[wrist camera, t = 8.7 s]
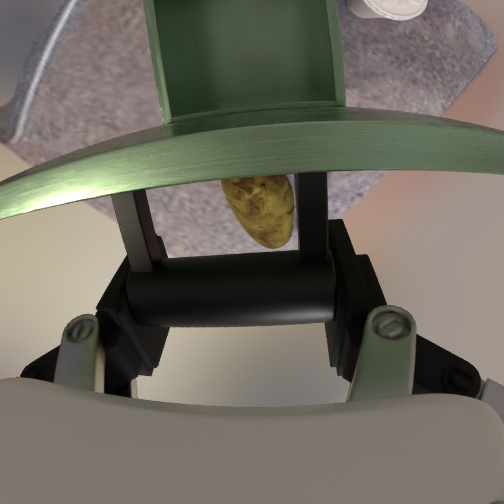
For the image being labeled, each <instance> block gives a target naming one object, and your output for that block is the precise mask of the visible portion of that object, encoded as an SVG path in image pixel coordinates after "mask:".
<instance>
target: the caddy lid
mask: <svg viewBox="0 0 504 504" xmlns="http://www.w3.org/2000/svg"><path fill="white" fill-rule="evenodd" d="M364 170H423V171H424V170H425V171H455V172H474V173H489V174H503V175H504V131H501V130H498V129H494V128H490V127H486V126H481V125H477V124H473V123H468V122H463V121H458V120H453V119H448V118H442V117H436V116H430V115H424V114H417V113H409V112H401V111H393V110H383V109H372V108H358V107H310V108H290V109H276V110H264V111H253V112H244V113H235V114H227V115H220V116H213V117H206V118H200V119H194V120H188V121H182V122H177V123H172V124H166V125H162V126H157V127H153V128H149V129H145V130H142V131H138V132H134V133H130V134H127V135H123V136H120V137H116V138H113V139H110V140H107V141H103V142H100V143H97V144H94V145H91V146H88V147H85V148H82V149H79V150H76V151H73V152H71V153H68V154H65V155H62V156H60V157H57V158H54V159H52V160H49V161H47V162H44V163H42V164H39V165H37V166H34V167H32V168H30V169H28V170H25V171H23V172H21V173H18V174H16V175H14V176H12V177H9V178H7V179H5V180H3V181H1V182H0V220H1V219H5V218H8V217H12V216H16V215H20V214H24V213H28V212H33V211H37V210H41V209H46V208H50V207H55V206H59V205H63V204H69V203H73V202H78V201H83V200H88V199H94V198H99V197H104V196H110V195H111V197H112V202H113V205H114V209H115V213H116V217H117V221H118V224H119V228H120V231H121V235H122V238H123V242H124V245H125V249H126V252H127V255H128V258H129V262H130V265H131V269H130V271H129V274H128V278H127V284H126V298H127V304H128V308H129V312H130V314H131V316H132V318H133V320H134V321H135V322H136V323H137V324H138V325H140V326H143V327H248V326H273V325H292V324H308V323H322V322H332V321H333V320H334V318H335V315H336V307H337V284H336V273H335V265H334V260H333V256H332V253H331V251H330V249H328V193H327V172H331V171H364ZM293 173H294V180H295V194H296V210H297V228H298V249H299V250H289V251H274V252H258V253H242V254H227V255H211V256H195V257H179V258H164V259H162V257H161V253H160V250H159V246H158V242H157V238H156V234H155V230H154V226H153V222H152V217H151V213H150V209H149V204H148V200H147V196H146V191H145V190H146V189H152V188H159V187H166V186H173V185H181V184H189V183H197V182H205V181H214V180H223V179H232V178H243V177H254V176H266V175H279V174H293Z"/></svg>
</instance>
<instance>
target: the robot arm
mask: <svg viewBox="0 0 504 504" xmlns="http://www.w3.org/2000/svg"><path fill="white" fill-rule="evenodd" d="M155 234H156V233H155ZM156 238H157V242H158V246H159V250H160V253H161V257H162V259H164V258H168V256H167V253H166V250H165V247H164V243H163V240H162V238H161V236H157V234H156ZM328 249H330V251H331V253H332V256H333V260H334V265H335V273H336V284H337V307H336V315H335V318H334V320H333V321H332V322H324V323H325V330H326V337H327V344H328V351H329V360H330V366H331V367H336V369H337V375H338V376H343V378H344V379H346V380H347V381H349V382H350V387H349V391H348V395H347V399H346V402H345V403H333V404H321V405H308V406H307V405H306V406H285V407H228V406H206V405H190V404H179V403H167V402H159V401H150V400H142V399H138V397H137V381H136V377H138V375H144V376H152V373H153V369H154V368H157V366H158V365H159V361H160V358H161V355H162V351H163V348H164V345H165V342H166V338H167V335H168V332H169V329H170V327H143V326H140V325H138V324H137V323H136V322H135V321H134V320H133V318H132V316H131V314H130V312H129V308H128V304H127V298H126V284H127V278H128V274H129V271H130V269H131V265H130V262H129V258H128V255H126V257H125V259H124V260H123V262H122V264H121V265H120V267H119V269H118V270H117V272H116V273H115V275H114V277H113V279H112V280H111V282H110V284H109V285H108V287H107V289H106V291H105V292H104V294H103V296H102V298H101V300H100V301H99V303H98V305H97V307H96V309H97V313H96V315H95V316H94V315H92V314H83V315H80V316H78V317H76V318H74V319H73V320H71V322H69V323H68V324H67V326H66V327H65V329H64V331H63V335H62V339H61V344H60V345H59V346H58V347H56V348H54V349H53V350H51V351H49V352H48V353H46V354H45V355H43V356H41V357H40V358H38V359H36V360H35V361H33V362H32V363H30V364H29V365H27V366H26V367H25V368H24V370H23V371H22V373H21V375H20V378H19V377H16V378H6V379H1V380H0V504H504V386H503V385H501V384H498V383H496V382H494V381H492V380H490V379H487V380H486V381H483V380H481V377H480V375H479V372H478V371H477V369H476V368H475V367H474V366H473V365H472V364H470V363H469V362H467V361H465V360H464V359H462V358H460V357H458V356H456V355H454V354H452V353H451V352H449V351H447V350H445V349H443V348H442V347H440V346H438V345H436V344H434V343H432V342H431V341H429V340H427V339H425V338H423V337H421V336H419V335H418V334H416V323H415V320H414V319H413V316H412V315H411V314H410V313H409V312H408V311H406V310H404V309H403V308H400V307H397V306H393V305H387V303H386V300H385V298H384V295H383V292H382V289H381V287H380V284H379V282H378V279H377V276H376V274H375V271H374V269H373V266H372V264H371V261H370V259H369V257H368V255H367V254H363V255H356V254H355V251H354V249H353V246H352V243H351V240H350V238H349V235H348V232H347V230H346V227H345V225H344V222H343V220H342V219H332V220H328Z"/></svg>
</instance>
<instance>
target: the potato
mask: <svg viewBox="0 0 504 504" xmlns="http://www.w3.org/2000/svg"><path fill="white" fill-rule="evenodd" d="M221 184H222V187H223V190H224V193H225V195H226V199H227V201H228V203H229V205H230V207H231V209H232V210H233V212H234V214H235V216H236V218H237V219H238V221H239V222H240V224H241V225H242V227H243V228H244V229H245V231H246V232H247V233H248V234H249V235H250V236H251V237H252V238H253V239H254V240H255V241H257V242H258V243H259V244H261V245H262V246H264V247H267V248H270V249H275V248H279V247H282V246H283V245H285V244H286V243H287V242H288V241H289V239H290V237H291V234H292V229H293V216H294V196H293V191H292V187H291V184H290V182H289V180H288V178H287V176H286V174H279V175H266V176H254V177H243V178H232V179H223V180H221Z"/></svg>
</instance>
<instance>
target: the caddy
mask: <svg viewBox="0 0 504 504" xmlns="http://www.w3.org/2000/svg"><path fill="white" fill-rule="evenodd" d="M143 1H144V8H145V16H146V23H147V30H148V37H149V44H150V50H151V56H152V63H153V68H154V74H155V80H156V86H157V91H158V97H159V102H160V107H161V112H162V117H163V122H164V125H166V124H172V123H177V122H182V121H188V120H194V119H200V118H206V117H213V116H220V115H227V114H235V113H244V112H253V111H264V110H276V109H290V108H310V107H346V96H345V79H344V66H343V54H342V44H341V34H340V26H339V18H338V10H337V3H336V0H143Z"/></svg>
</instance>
